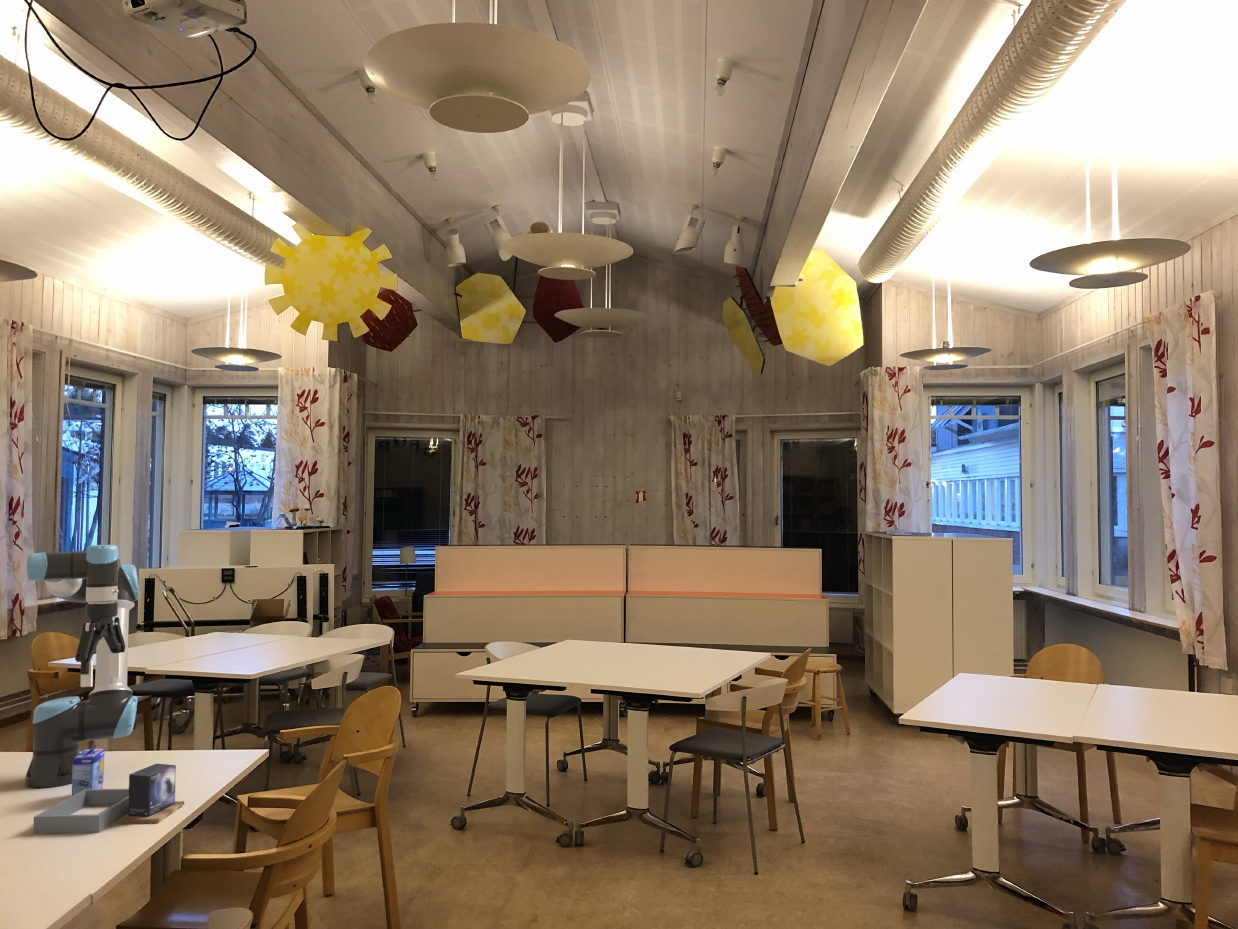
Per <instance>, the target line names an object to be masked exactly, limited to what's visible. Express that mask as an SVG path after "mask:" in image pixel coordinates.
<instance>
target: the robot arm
mask: <svg viewBox="0 0 1238 929" xmlns="http://www.w3.org/2000/svg"><path fill="white" fill-rule="evenodd" d="M26 559H27V560H26V577H27V579H28V580H29V581H34V582H37V581H38V582H42V581H43V582H45V587H46V589H47V591H48V592H49V593H50V594H51V595H52V596H54V597H56V598H58V599H60V600H63V601H67V602H71V603H72V602H73V603H85V617H86V618H87V619H90V622H83V624H82V631H81V635H80V640H79V643H78V645H77V650H76V653H75V658H74V660H75V661H76V663H80V688H88V687H89V688H90V687H91V688H92V687H93V680H94V689H93V690H92V691H90V693H89V694H88V700H81V698H80V696H79V695H78V696H77V695H76V696H75V695H73V696H64V697H59V698H55V699H50V700H47V701H45V702H43V703H40V704H39V705H36V707H35V708H34V710H33V718H32V719H33V720H32V722H31V723H32V725H33V726H32V729H33V730H32V732H33V733H32V735H33V736H32V758H31V760H30V763H29V766H28V769H27V771H26V773H25V774H26V775H25V778H24V779H25V781H24V784H25V786H26V785H27V786H26V787H28V786H29V787H28V788H36V787H40V788H53V787H57V786H59V787H60V786H64V785H69V784H72V772H73V758H74V757H75V756H77V755H78V754H80V753H81V752H80V743H81V742H87V741H96V740H98V741H99V740H108V739H114V740H115V739H117V738H123V737H128V736H129V735H131V734H132V732H133V730H134V725H135V721H136V716H137V708H138V707H137V706H138V697H137V696H135V695H133V690H132V689H131V688H130V687H129V686H128V667H129V666H128V662H129V661H128V659H129V656H128V654H129V625H130V624H129V620H130V618H129V617H130V610H132V609H133V608H134V607H135V604H136V602H135V601H138V600H140V599H141V597H140V588H139V581H138V574H137V573H138V572H137V567H136V566H135V565H134V564H129V563H125V564H124V563H121V559H120V557H119V547H118V546H117V545H116V544H96V545H95V544H94V545H88V546H87V547H86V551H70V552H67V551H66V552H65V551H64V552H62V551H61V552H44V551H42V552H35V553H30V554H28V555H27V558H26ZM86 603H87V604H86ZM95 651H96V653H95ZM94 653H95V654H96V655H95V675H94V674H93V672H94V661H93V660H92V658H93V656H94ZM93 675H94V676H95V679H93V678H94V676H93Z"/></svg>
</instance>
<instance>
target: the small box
mask: <svg viewBox="0 0 1238 929" xmlns="http://www.w3.org/2000/svg"><path fill="white" fill-rule="evenodd" d="M176 771H177V765H176V764H168V763H166V764H165V763H154V764H152V765H149V766H147V767H144V768H142V769H139V770H137V771H135V772H131V773H129V775H128V789H129V802H128V815H132V816H146V817H148V816H151V815H153V814H155V813H157V812H159V811H161V810H163V809H166V808H168V807H170V806H172V805H174V804H175V801H176V775H177V774H176V773H177V772H176Z"/></svg>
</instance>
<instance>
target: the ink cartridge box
mask: <svg viewBox="0 0 1238 929" xmlns="http://www.w3.org/2000/svg"><path fill="white" fill-rule="evenodd" d="M97 745H98V742H95V743H94V744H93V745H92V746H91V747H90V748H87V749H83V750H81V752H80V754H78V755H77V756H75V757H74V758H73V772H72V783H71V797H72V796H73V795H75V794H77V793H79V792H81V791H83V790H85V789H104V774H105V773H104V769H105V748H96V746H97Z"/></svg>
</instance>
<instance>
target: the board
mask: <svg viewBox="0 0 1238 929" xmlns="http://www.w3.org/2000/svg"><path fill="white" fill-rule="evenodd" d="M182 805H184V806H185V801H183V800H175V804H174V805H172V806H170V807H168V808H166V809H163V810H161V811H159V812H157V813H155V814H153V815H151V816H148V817H146V816H132V815H128V814H127V815H125V816H124V817H122V818H120V819H119V820H118V824H119V825H120V824H122V825H126V824H129V823H132V824H159V823H161V822H162V821H163V820H165V819H166V818H168V817H169V816H171V815H172V814H174V813H175V812H176V811H178V810H179V809H180V808H179V807H181V806H182ZM182 807H183V806H182ZM182 807H181V808H182ZM178 808H179V809H178ZM177 809H178V810H177ZM174 811H175V812H174ZM173 812H174V813H173ZM170 814H171V815H170Z"/></svg>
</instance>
